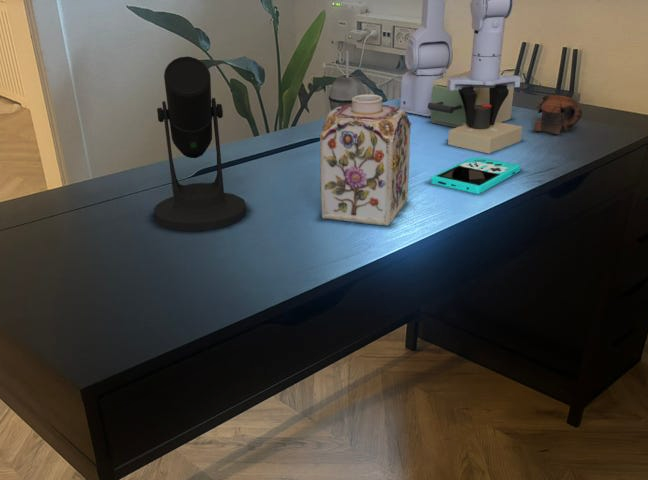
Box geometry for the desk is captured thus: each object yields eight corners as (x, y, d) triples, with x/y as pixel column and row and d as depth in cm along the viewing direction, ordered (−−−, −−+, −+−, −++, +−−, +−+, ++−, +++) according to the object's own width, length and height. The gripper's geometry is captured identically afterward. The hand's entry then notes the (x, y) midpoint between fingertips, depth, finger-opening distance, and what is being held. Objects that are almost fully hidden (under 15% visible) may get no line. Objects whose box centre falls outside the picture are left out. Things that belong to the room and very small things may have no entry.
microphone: (155, 238, 113) (130, 64, 99) (154, 200, 127) (132, 44, 114) (252, 229, 115) (240, 58, 102) (240, 193, 129) (228, 40, 116)
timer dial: (472, 129, 151) (474, 108, 149) (467, 124, 154) (469, 103, 152) (492, 128, 151) (494, 107, 149) (486, 124, 155) (488, 102, 152)
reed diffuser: (366, 152, 149) (368, 46, 138) (364, 163, 143) (366, 53, 132) (330, 152, 150) (329, 46, 139) (327, 163, 144) (326, 53, 133)
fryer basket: (458, 132, 158) (461, 96, 154) (417, 123, 164) (419, 89, 160) (503, 116, 168) (507, 82, 165) (463, 109, 175) (466, 76, 171)
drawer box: (475, 131, 161) (479, 87, 157) (431, 122, 169) (433, 80, 164) (510, 118, 170) (515, 77, 165) (466, 110, 177) (470, 70, 172)
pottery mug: (520, 131, 162) (531, 94, 162) (548, 145, 168) (558, 109, 167) (563, 128, 152) (574, 88, 152) (592, 143, 157) (603, 104, 157)
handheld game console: (521, 171, 137) (522, 164, 136) (479, 194, 127) (480, 187, 126) (473, 161, 143) (474, 154, 142) (429, 183, 132) (430, 176, 132)
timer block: (445, 144, 153) (446, 128, 152) (478, 132, 161) (479, 117, 159) (489, 153, 147) (490, 137, 145) (520, 141, 154) (522, 125, 153)
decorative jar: (408, 202, 124) (414, 91, 114) (390, 227, 115) (394, 108, 105) (341, 195, 127) (341, 87, 118) (318, 219, 118) (316, 103, 109)
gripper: (456, 59, 141) (451, 131, 149) (529, 56, 143) (520, 127, 150) (446, 53, 147) (441, 122, 154) (516, 50, 149) (508, 119, 156)
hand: (479, 124), depth 153 cm, fingers closed on timer dial, 4 cm apart
